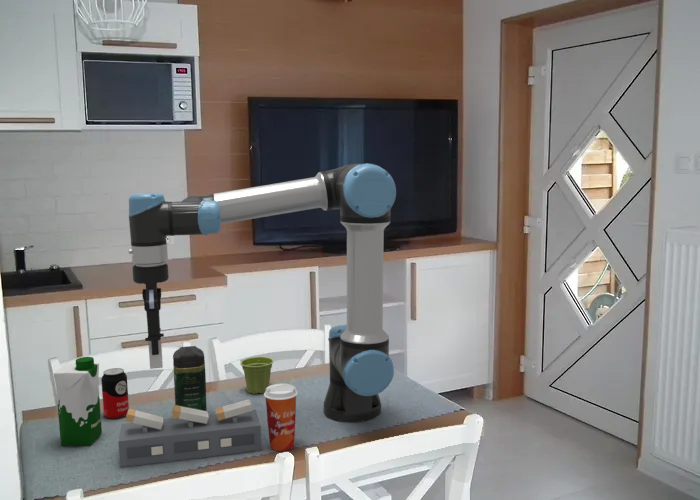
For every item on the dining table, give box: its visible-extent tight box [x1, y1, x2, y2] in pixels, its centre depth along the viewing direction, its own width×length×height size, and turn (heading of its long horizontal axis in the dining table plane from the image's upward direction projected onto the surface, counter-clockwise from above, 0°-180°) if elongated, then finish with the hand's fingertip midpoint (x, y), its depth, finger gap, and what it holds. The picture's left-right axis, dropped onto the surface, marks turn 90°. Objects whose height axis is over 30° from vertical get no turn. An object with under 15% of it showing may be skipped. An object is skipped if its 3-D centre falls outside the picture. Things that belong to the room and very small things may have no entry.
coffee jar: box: [172, 345, 208, 411], centre depth 177 cm, size 10×8×19 cm
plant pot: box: [239, 356, 275, 395], centre depth 197 cm, size 9×9×9 cm
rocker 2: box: [171, 404, 209, 424], centre depth 158 cm, size 8×4×2 cm, turn 105°
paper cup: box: [263, 383, 299, 452], centre depth 160 cm, size 8×8×14 cm
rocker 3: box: [215, 399, 254, 421], centre depth 161 cm, size 8×4×2 cm, turn 104°
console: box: [117, 409, 263, 468], centre depth 159 cm, size 31×10×7 cm, turn 104°
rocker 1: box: [125, 408, 164, 430], centre depth 156 cm, size 8×4×2 cm, turn 105°
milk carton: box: [52, 356, 103, 447], centre depth 164 cm, size 9×9×20 cm
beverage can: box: [100, 367, 130, 420], centre depth 180 cm, size 6×6×12 cm
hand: (156, 367), depth 155 cm, fingers closed
